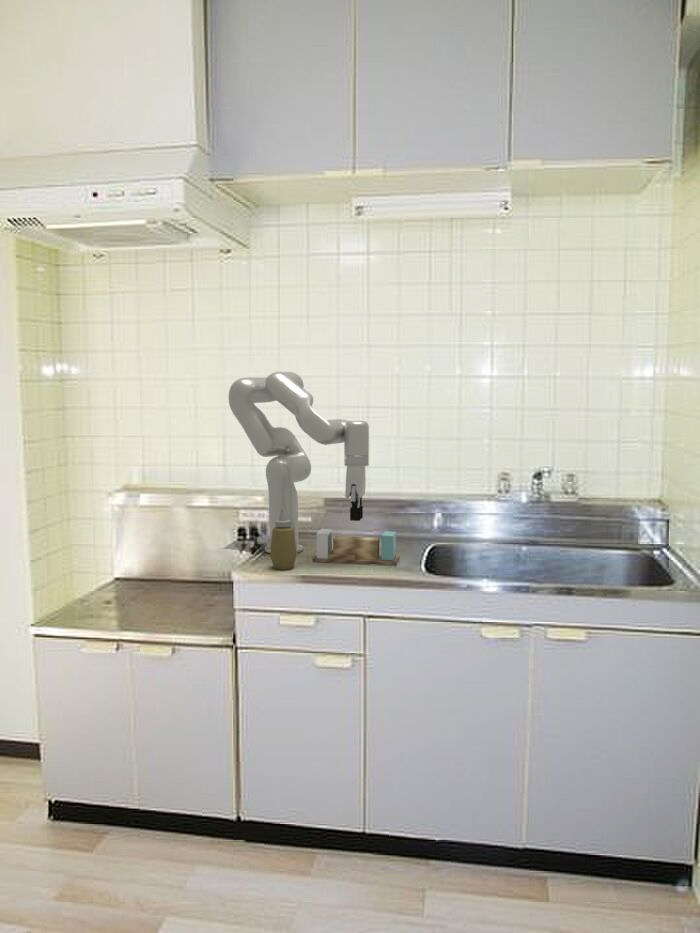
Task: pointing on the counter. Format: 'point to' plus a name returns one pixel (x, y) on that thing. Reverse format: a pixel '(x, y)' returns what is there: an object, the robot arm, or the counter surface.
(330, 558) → the walnut board
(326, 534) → the grey upright block
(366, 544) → the light wooden block
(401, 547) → the counter surface
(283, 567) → the squeeze bottle
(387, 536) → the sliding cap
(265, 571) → the counter surface
